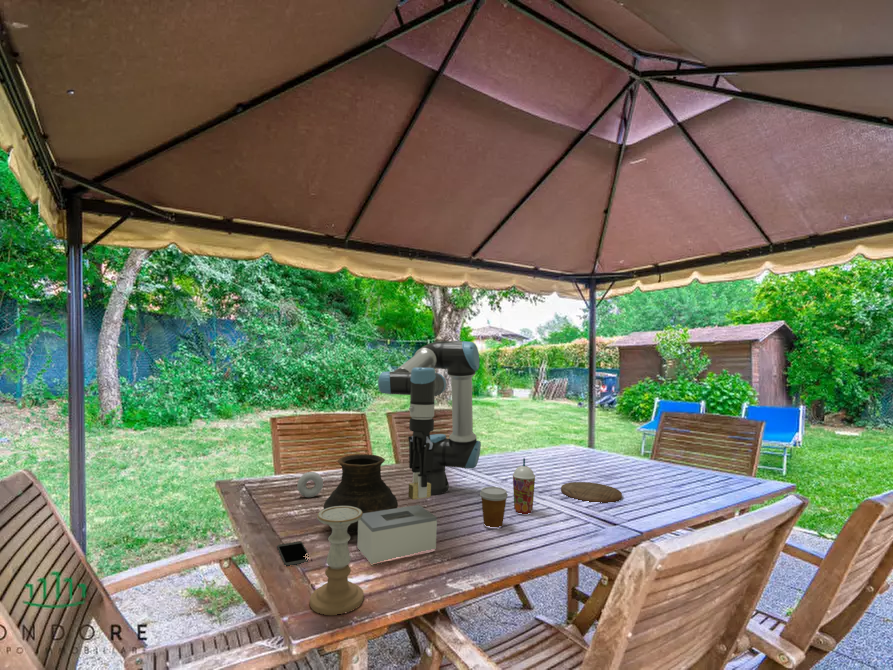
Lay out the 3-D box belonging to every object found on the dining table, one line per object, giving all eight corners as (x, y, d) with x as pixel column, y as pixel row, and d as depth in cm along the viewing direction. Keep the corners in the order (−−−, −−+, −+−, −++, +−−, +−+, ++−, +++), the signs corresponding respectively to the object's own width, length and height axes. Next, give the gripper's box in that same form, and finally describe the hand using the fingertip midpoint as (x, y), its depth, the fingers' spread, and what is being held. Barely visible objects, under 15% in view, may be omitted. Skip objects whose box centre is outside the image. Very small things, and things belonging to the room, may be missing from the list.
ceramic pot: (308, 528, 146) (311, 459, 147) (364, 510, 164) (366, 448, 165) (355, 550, 130) (358, 472, 132) (411, 527, 149) (413, 459, 150)
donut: (322, 494, 181) (323, 470, 181) (323, 497, 177) (324, 472, 178) (296, 496, 177) (297, 471, 178) (296, 499, 174) (297, 473, 175)
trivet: (615, 508, 174) (615, 503, 175) (553, 496, 188) (553, 492, 188) (626, 492, 196) (626, 488, 196) (570, 483, 209) (570, 478, 209)
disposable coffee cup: (489, 533, 145) (489, 496, 146) (474, 523, 154) (474, 488, 154) (512, 528, 150) (513, 492, 150) (496, 519, 158) (497, 485, 159)
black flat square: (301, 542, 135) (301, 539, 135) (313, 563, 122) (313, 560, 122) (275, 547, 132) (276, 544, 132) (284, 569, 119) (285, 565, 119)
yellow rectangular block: (425, 494, 138) (426, 481, 138) (430, 497, 135) (430, 483, 135) (408, 497, 135) (408, 483, 135) (412, 499, 132) (413, 486, 132)
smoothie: (507, 512, 166) (508, 458, 167) (520, 507, 172) (520, 455, 173) (526, 518, 160) (527, 462, 161) (538, 512, 166) (539, 458, 167)
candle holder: (297, 608, 100) (301, 517, 101) (330, 583, 111) (333, 501, 112) (344, 621, 95) (347, 526, 96) (373, 593, 107) (376, 508, 108)
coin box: (418, 536, 141) (419, 504, 142) (435, 551, 131) (436, 517, 131) (357, 548, 131) (358, 514, 132) (371, 565, 121) (372, 528, 121)
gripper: (399, 415, 141) (397, 490, 140) (423, 421, 127) (420, 505, 126) (420, 414, 145) (418, 487, 144) (445, 420, 131) (443, 501, 130)
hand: (419, 495), depth 135 cm, fingers closed on yellow rectangular block, 3 cm apart
